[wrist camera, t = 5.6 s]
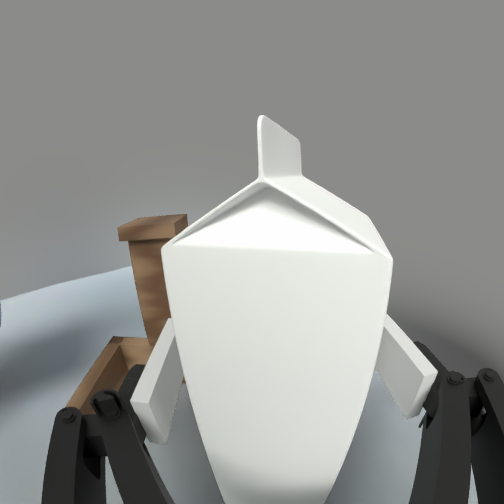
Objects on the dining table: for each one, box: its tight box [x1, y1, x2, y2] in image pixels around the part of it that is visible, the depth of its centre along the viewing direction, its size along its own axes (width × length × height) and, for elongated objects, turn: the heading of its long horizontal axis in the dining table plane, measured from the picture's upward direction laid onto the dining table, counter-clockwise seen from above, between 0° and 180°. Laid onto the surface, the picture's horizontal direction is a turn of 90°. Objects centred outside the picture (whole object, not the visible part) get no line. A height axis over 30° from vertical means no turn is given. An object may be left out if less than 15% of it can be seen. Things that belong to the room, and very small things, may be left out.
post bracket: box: [66, 214, 188, 415], centre depth 21 cm, size 14×16×17 cm
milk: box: [161, 115, 393, 504], centre depth 11 cm, size 6×6×22 cm
